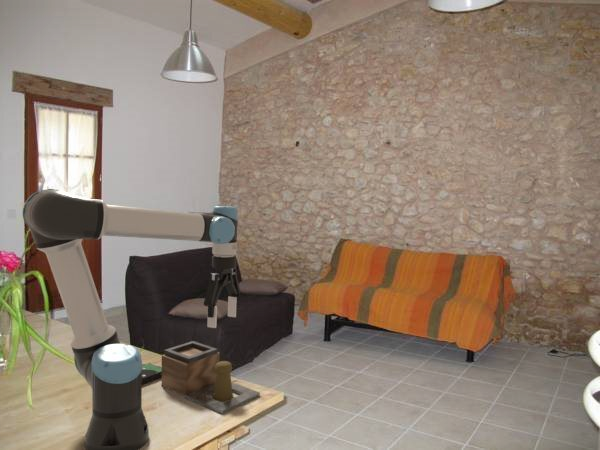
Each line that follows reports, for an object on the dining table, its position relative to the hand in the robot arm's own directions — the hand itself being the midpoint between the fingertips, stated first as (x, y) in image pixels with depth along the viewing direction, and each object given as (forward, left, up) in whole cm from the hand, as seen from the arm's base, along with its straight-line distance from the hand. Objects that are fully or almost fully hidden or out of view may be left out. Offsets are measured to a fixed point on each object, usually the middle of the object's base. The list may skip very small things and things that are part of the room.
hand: (222, 321), depth 155 cm
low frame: (-4, -5, -22) cm, 23 cm away
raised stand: (-4, +10, -22) cm, 24 cm away
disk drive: (-12, +26, -23) cm, 37 cm away
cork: (-4, -5, -22) cm, 23 cm away
